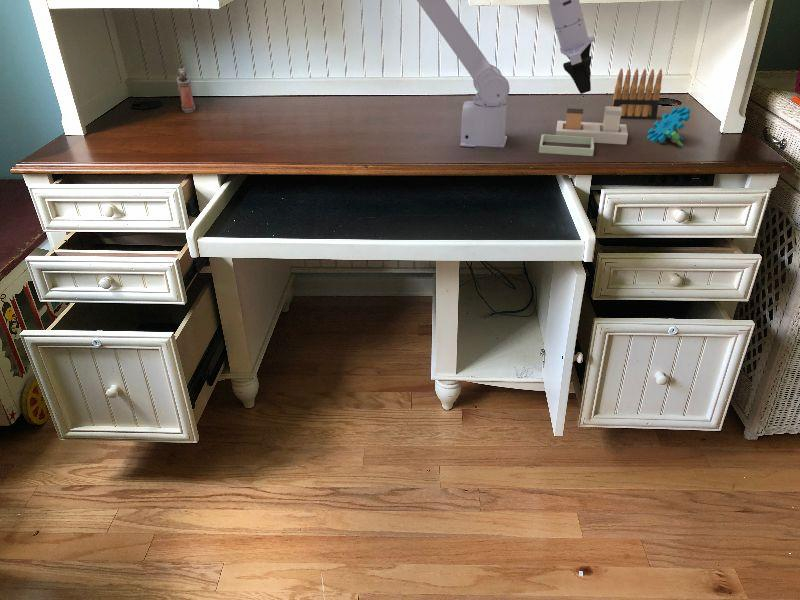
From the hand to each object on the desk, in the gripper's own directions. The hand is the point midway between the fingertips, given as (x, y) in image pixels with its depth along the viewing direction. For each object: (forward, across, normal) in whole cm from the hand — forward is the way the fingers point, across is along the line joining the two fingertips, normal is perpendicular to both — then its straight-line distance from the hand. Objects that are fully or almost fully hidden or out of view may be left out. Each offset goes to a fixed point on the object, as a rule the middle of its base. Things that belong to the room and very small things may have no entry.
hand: (585, 85), depth 136 cm
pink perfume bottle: (-25, +8, +98) cm, 102 cm away
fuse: (+13, 0, -2) cm, 13 cm away
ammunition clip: (+18, +17, -7) cm, 25 cm away
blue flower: (+18, +1, -13) cm, 22 cm away
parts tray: (+9, -9, +6) cm, 14 cm away
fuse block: (+12, 0, +2) cm, 12 cm away
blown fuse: (+10, 0, +6) cm, 11 cm away
